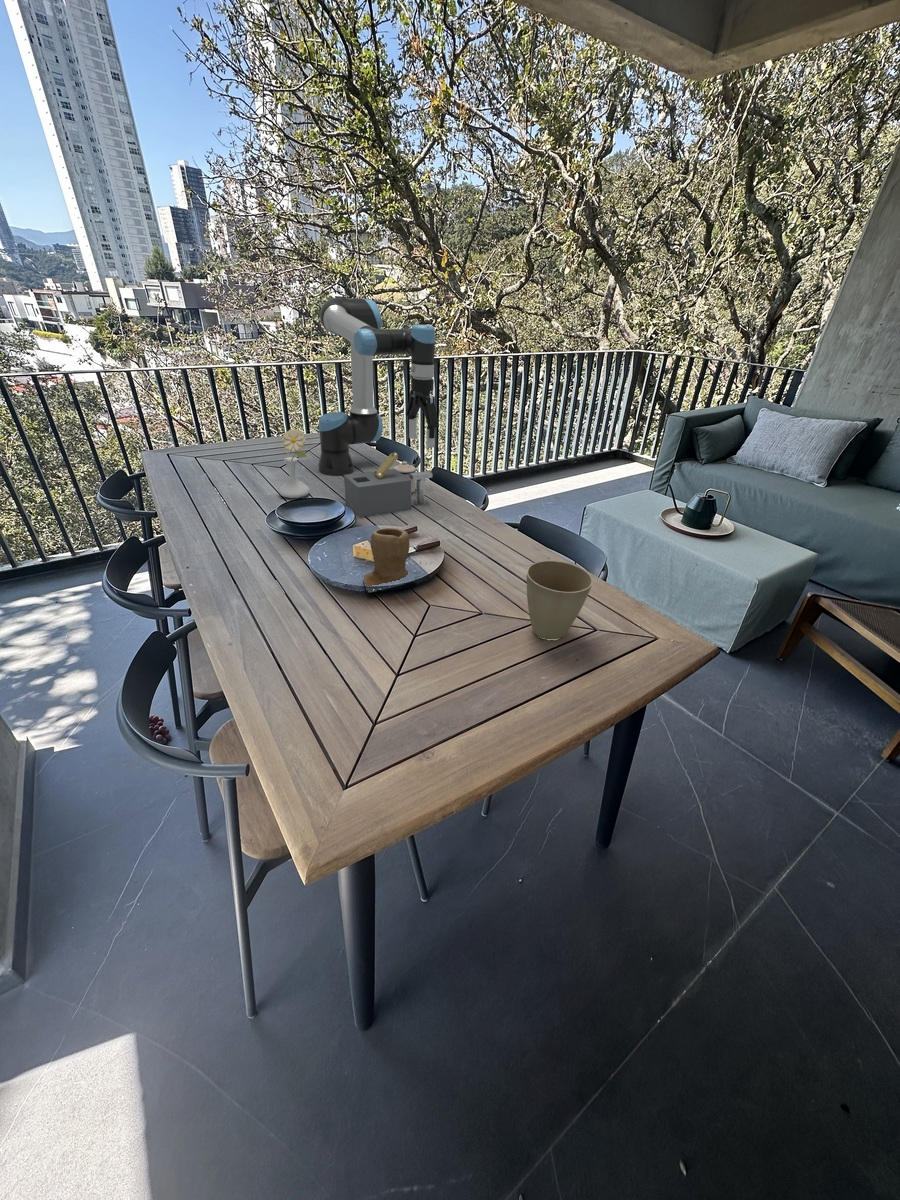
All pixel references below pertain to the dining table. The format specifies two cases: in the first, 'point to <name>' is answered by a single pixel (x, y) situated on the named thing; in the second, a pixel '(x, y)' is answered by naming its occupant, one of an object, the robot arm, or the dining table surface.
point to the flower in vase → (293, 465)
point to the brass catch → (386, 465)
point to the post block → (377, 493)
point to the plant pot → (555, 596)
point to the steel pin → (420, 484)
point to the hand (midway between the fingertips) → (421, 442)
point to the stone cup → (388, 556)
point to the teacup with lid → (407, 472)
